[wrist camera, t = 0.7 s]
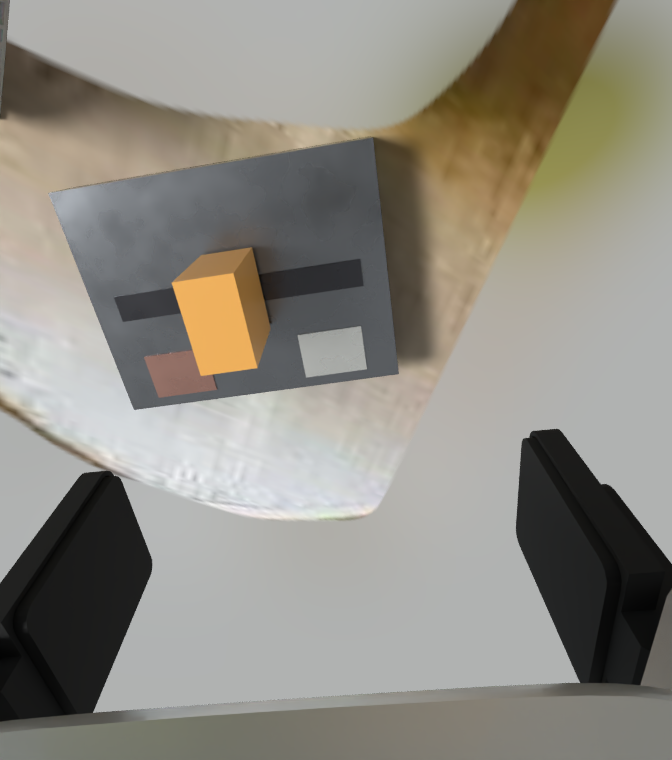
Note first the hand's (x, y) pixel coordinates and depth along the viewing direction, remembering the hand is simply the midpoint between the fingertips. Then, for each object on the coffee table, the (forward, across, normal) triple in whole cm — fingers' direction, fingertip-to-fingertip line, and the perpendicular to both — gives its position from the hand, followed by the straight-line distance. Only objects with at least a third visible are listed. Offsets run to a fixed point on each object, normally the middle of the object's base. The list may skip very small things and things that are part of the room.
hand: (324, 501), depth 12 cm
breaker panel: (+23, +6, 0) cm, 24 cm away
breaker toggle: (+20, +6, 0) cm, 20 cm away
